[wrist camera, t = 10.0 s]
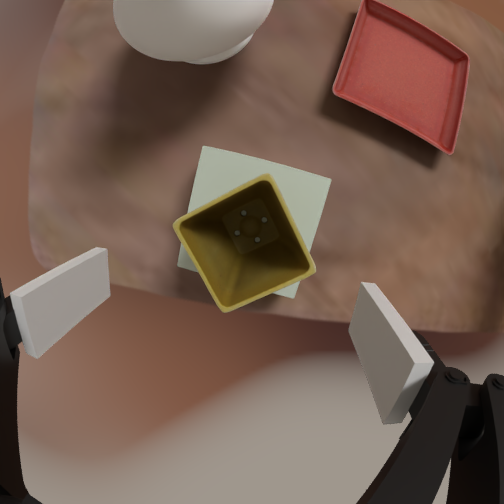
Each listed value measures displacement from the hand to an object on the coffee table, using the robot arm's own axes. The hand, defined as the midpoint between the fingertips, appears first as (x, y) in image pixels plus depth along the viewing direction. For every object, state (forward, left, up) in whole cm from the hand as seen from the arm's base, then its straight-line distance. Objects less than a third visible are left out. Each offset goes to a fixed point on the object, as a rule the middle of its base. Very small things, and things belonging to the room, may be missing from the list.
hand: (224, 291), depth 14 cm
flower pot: (0, 0, -18) cm, 18 cm away
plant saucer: (-18, -23, -24) cm, 38 cm away
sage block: (0, 0, -24) cm, 24 cm away
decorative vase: (+9, -26, -24) cm, 36 cm away
